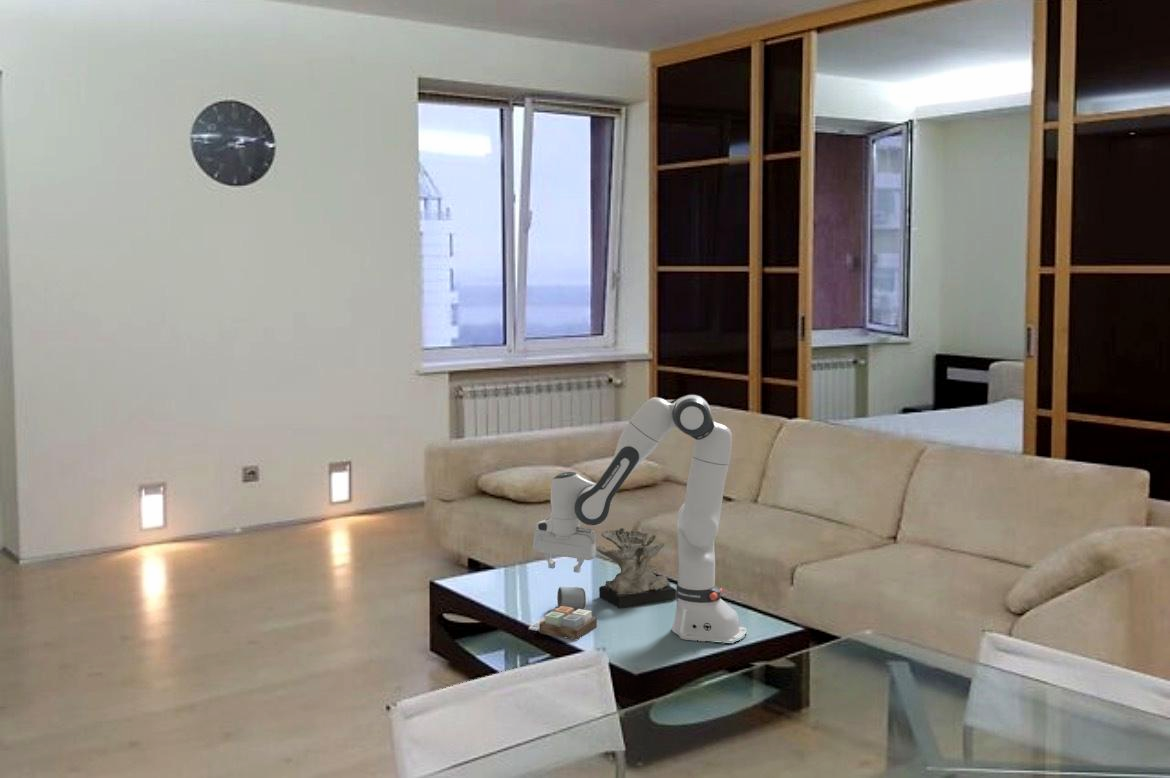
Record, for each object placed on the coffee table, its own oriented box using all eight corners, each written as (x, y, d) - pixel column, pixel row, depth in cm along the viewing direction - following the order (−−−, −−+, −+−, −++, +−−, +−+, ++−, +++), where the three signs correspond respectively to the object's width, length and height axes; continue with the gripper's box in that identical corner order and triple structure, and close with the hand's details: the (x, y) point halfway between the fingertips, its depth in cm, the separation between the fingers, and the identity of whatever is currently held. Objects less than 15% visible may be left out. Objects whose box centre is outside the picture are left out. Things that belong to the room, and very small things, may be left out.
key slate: (582, 627, 347) (582, 616, 346) (575, 632, 343) (575, 620, 343) (569, 625, 349) (569, 613, 348) (562, 629, 345) (562, 618, 345)
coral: (609, 610, 369) (609, 544, 367) (581, 593, 387) (582, 530, 385) (677, 600, 380) (678, 536, 377) (647, 583, 398) (648, 522, 395)
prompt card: (552, 621, 358) (552, 618, 358) (536, 630, 349) (536, 628, 349) (544, 619, 360) (544, 617, 359) (528, 629, 351) (528, 626, 351)
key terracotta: (574, 619, 355) (574, 607, 354) (567, 623, 351) (567, 611, 351) (561, 616, 357) (561, 605, 356) (554, 621, 353) (554, 609, 353)
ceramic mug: (586, 612, 367) (586, 589, 366) (561, 614, 365) (561, 590, 364) (579, 603, 377) (579, 580, 376) (554, 604, 375) (554, 581, 374)
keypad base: (596, 627, 353) (596, 617, 353) (577, 640, 342) (577, 630, 341) (559, 620, 359) (559, 611, 358) (539, 633, 347) (539, 623, 347)
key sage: (564, 624, 350) (564, 613, 349) (557, 629, 346) (557, 617, 345) (551, 622, 352) (552, 610, 351) (544, 626, 348) (544, 614, 347)
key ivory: (591, 622, 352) (591, 610, 352) (584, 626, 348) (584, 614, 348) (578, 619, 354) (578, 608, 354) (571, 624, 350) (571, 612, 350)
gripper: (600, 527, 348) (599, 572, 350) (541, 519, 358) (540, 562, 359) (590, 532, 343) (589, 577, 345) (530, 523, 352) (530, 567, 354)
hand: (564, 569), depth 352 cm, fingers open, 7 cm apart
